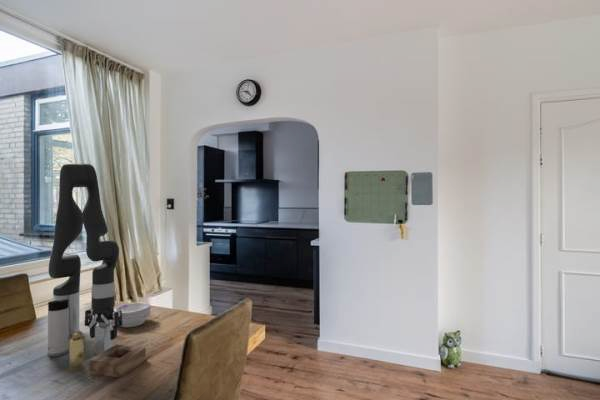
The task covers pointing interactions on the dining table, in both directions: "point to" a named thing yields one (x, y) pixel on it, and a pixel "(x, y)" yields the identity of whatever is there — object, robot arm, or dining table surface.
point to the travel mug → (58, 327)
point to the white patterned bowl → (134, 313)
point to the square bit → (102, 338)
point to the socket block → (117, 360)
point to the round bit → (76, 352)
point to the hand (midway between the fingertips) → (103, 338)
